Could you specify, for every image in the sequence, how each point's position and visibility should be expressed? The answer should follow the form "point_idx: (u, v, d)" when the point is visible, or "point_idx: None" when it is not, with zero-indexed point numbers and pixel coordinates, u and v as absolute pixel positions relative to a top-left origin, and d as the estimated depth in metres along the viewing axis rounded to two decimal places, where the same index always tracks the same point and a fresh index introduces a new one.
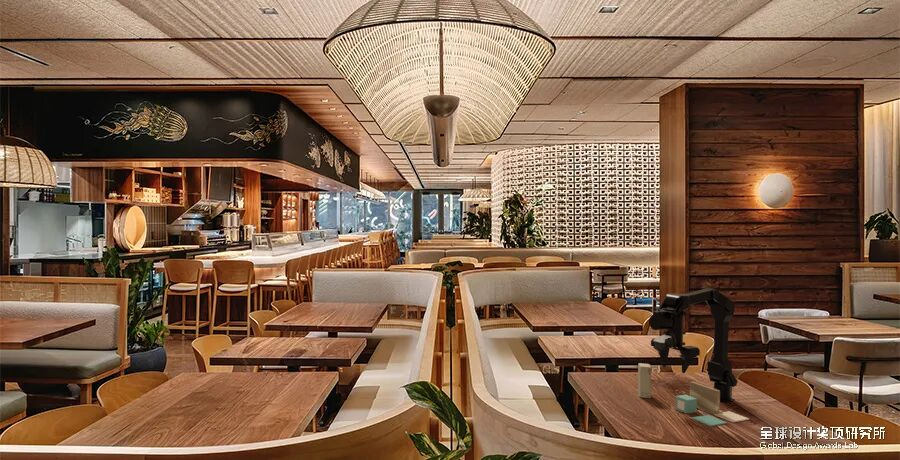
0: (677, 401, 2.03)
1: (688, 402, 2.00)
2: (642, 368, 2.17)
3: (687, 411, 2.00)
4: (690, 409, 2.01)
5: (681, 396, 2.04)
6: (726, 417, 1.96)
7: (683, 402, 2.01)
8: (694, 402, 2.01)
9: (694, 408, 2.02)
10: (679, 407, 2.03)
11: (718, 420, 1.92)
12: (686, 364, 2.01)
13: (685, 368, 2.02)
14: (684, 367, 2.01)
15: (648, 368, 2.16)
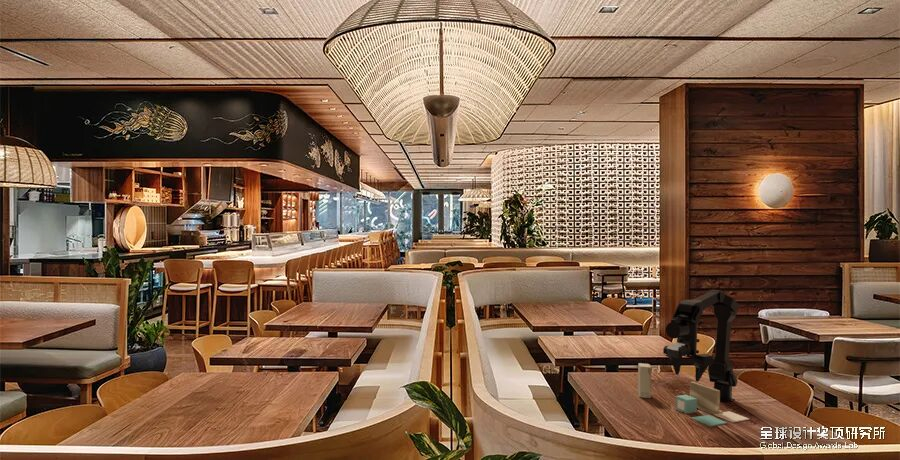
0: (677, 401, 2.03)
1: (688, 402, 2.00)
2: (642, 368, 2.17)
3: (687, 411, 2.00)
4: (690, 409, 2.01)
5: (681, 396, 2.04)
6: (726, 417, 1.96)
7: (683, 402, 2.01)
8: (694, 402, 2.01)
9: (694, 408, 2.02)
10: (679, 407, 2.03)
11: (718, 420, 1.92)
12: (700, 372, 1.98)
13: (699, 376, 1.98)
14: (698, 375, 1.98)
15: (648, 368, 2.17)
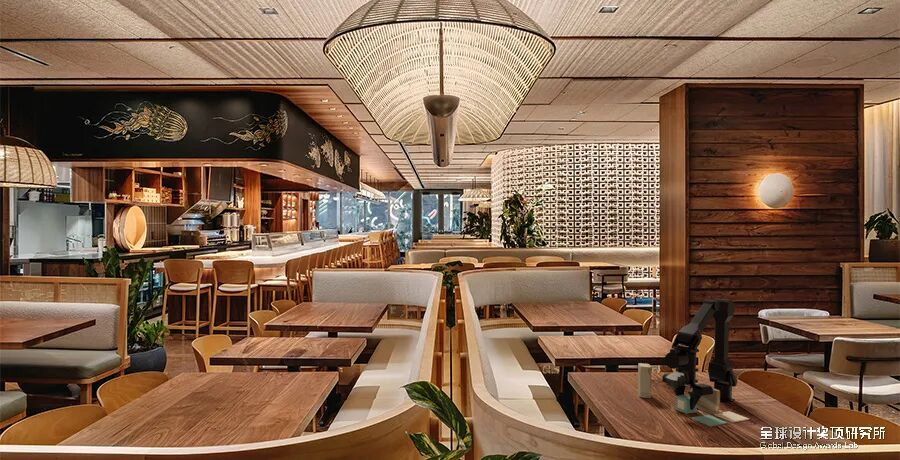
0: (677, 401, 2.03)
1: (688, 401, 2.00)
2: (642, 368, 2.17)
3: (687, 411, 2.00)
4: (690, 409, 2.01)
5: (681, 396, 2.04)
6: (726, 417, 1.96)
7: (683, 402, 2.01)
8: None
9: (694, 408, 2.01)
10: (679, 407, 2.03)
11: (718, 420, 1.92)
12: (694, 401, 2.00)
13: (693, 405, 2.00)
14: (692, 404, 2.00)
15: (648, 368, 2.17)
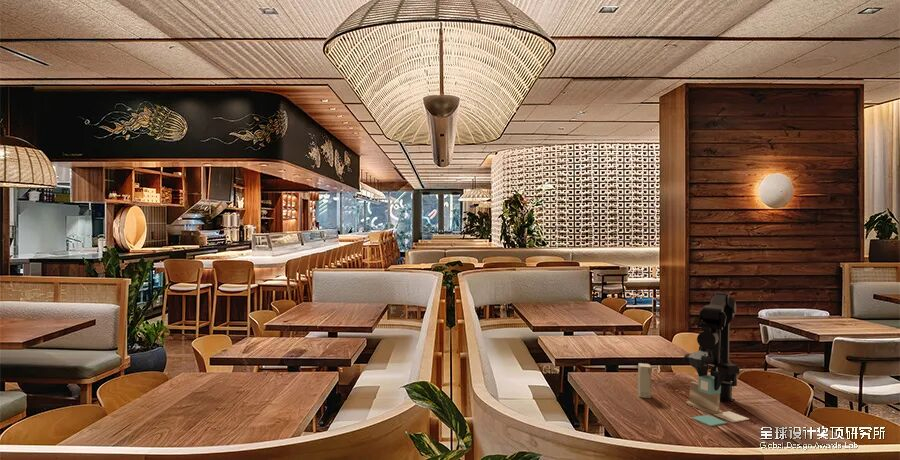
0: (700, 381, 1.93)
1: (712, 382, 1.90)
2: (642, 368, 2.17)
3: (711, 392, 1.90)
4: (714, 390, 1.90)
5: (704, 376, 1.93)
6: (726, 417, 1.96)
7: (706, 383, 1.91)
8: None
9: (718, 389, 1.91)
10: (702, 388, 1.92)
11: (718, 420, 1.92)
12: (719, 381, 1.89)
13: (718, 385, 1.90)
14: (717, 384, 1.89)
15: (648, 368, 2.16)
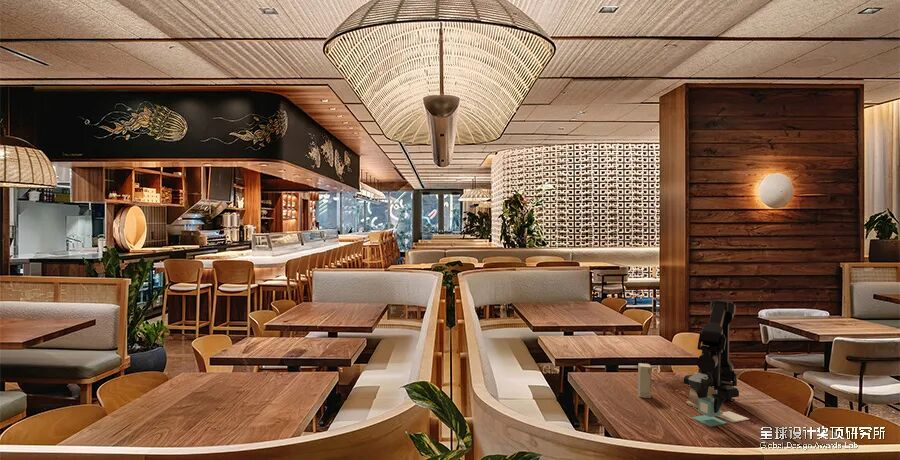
0: (700, 403, 1.93)
1: (712, 404, 1.90)
2: (642, 368, 2.17)
3: (710, 414, 1.90)
4: (713, 412, 1.90)
5: (704, 398, 1.94)
6: (726, 417, 1.96)
7: (706, 405, 1.91)
8: None
9: (718, 411, 1.91)
10: (702, 410, 1.92)
11: (718, 420, 1.92)
12: (719, 404, 1.89)
13: (718, 408, 1.90)
14: (717, 407, 1.89)
15: (648, 368, 2.16)
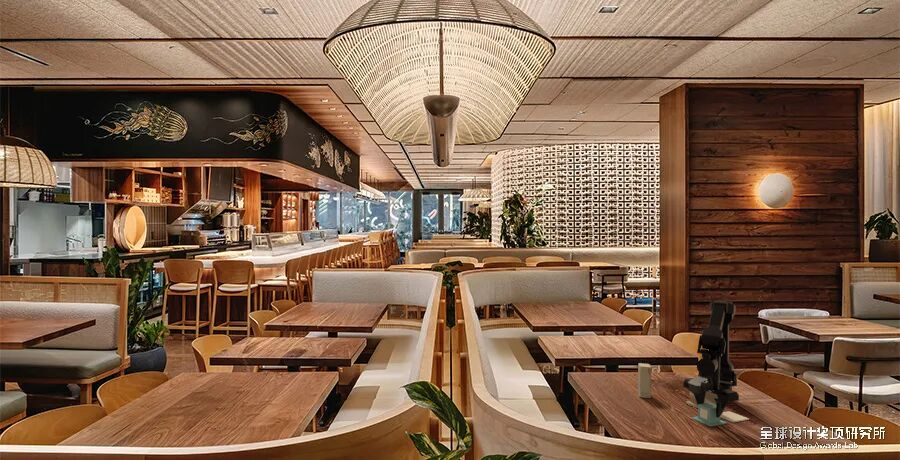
0: (700, 409, 1.93)
1: (712, 410, 1.90)
2: (642, 368, 2.17)
3: (710, 420, 1.90)
4: (713, 418, 1.90)
5: (704, 404, 1.94)
6: (726, 417, 1.96)
7: (706, 411, 1.91)
8: None
9: None
10: (702, 416, 1.92)
11: None
12: (721, 408, 1.88)
13: (720, 412, 1.89)
14: (719, 411, 1.88)
15: (648, 368, 2.16)
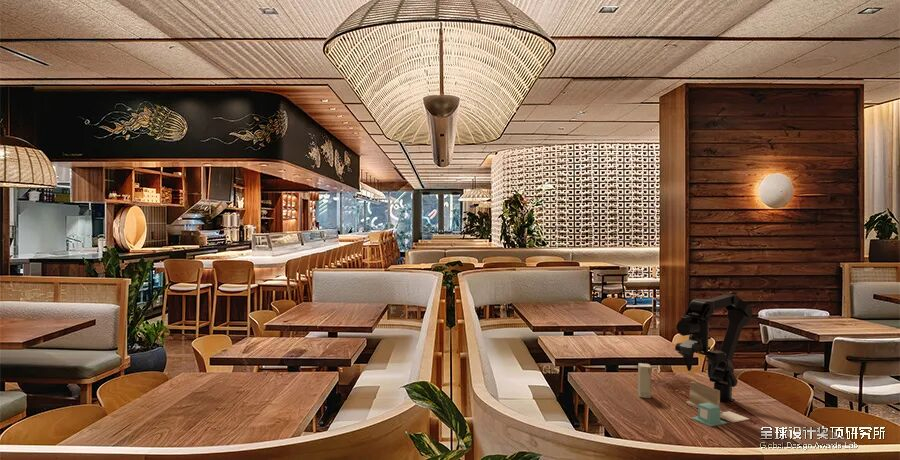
0: (700, 409, 1.93)
1: (712, 410, 1.90)
2: (642, 368, 2.17)
3: (710, 420, 1.90)
4: (713, 418, 1.90)
5: (704, 404, 1.94)
6: (726, 417, 1.96)
7: (706, 411, 1.91)
8: (718, 410, 1.91)
9: (718, 417, 1.91)
10: (702, 416, 1.92)
11: None
12: (712, 368, 2.05)
13: (711, 372, 2.05)
14: (710, 371, 2.05)
15: (648, 368, 2.17)
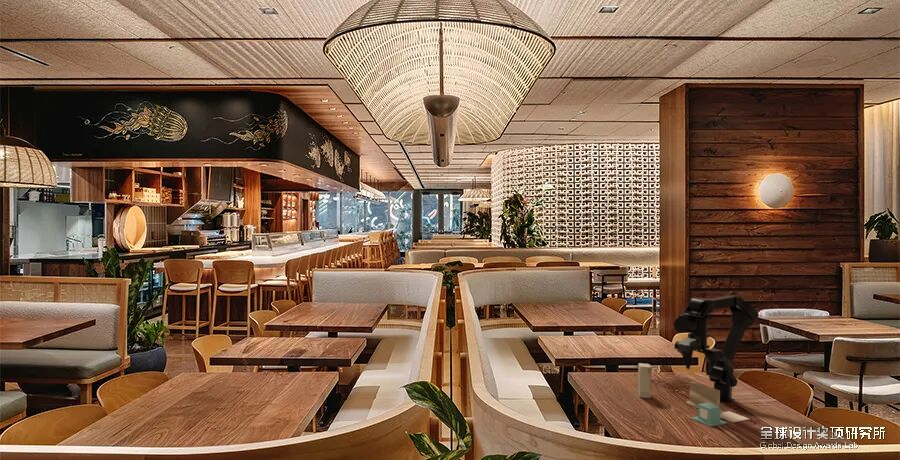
0: (700, 409, 1.93)
1: (712, 410, 1.90)
2: (642, 368, 2.17)
3: (710, 420, 1.90)
4: (713, 418, 1.90)
5: (704, 404, 1.94)
6: (726, 417, 1.96)
7: (706, 411, 1.91)
8: (718, 410, 1.91)
9: (718, 417, 1.91)
10: (702, 416, 1.92)
11: None
12: (710, 366, 2.07)
13: (709, 370, 2.07)
14: (708, 369, 2.07)
15: (648, 368, 2.17)
